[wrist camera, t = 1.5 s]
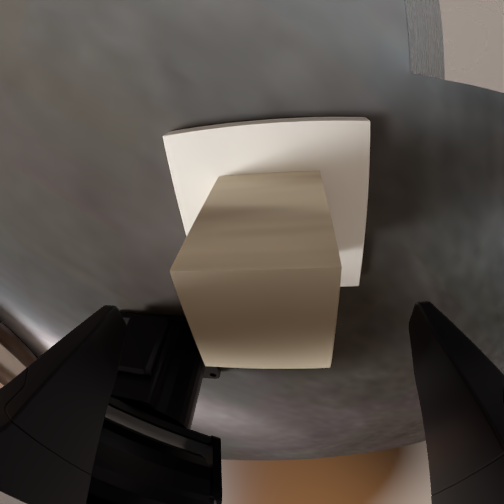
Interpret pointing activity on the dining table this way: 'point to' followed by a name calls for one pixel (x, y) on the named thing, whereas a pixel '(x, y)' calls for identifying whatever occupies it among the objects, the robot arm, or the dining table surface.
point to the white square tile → (281, 168)
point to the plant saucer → (12, 355)
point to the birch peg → (262, 273)
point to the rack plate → (458, 40)
